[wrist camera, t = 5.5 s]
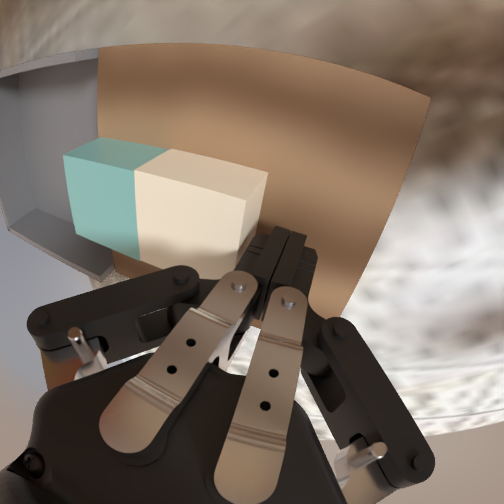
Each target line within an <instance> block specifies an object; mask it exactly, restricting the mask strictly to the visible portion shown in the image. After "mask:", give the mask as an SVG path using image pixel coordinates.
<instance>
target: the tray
mask: <svg viewBox="0 0 504 504" xmlns="http://www.w3.org/2000/svg"><path fill="white" fill-rule="evenodd" d="M98 57H99V48H96V49H87V50H80V51H73V52H68V53H63V54H58V55H54V56H49V57H45V58H41V59H37V60H33V61H30V62H26V63H22V64H19V65H16V66H13V67H9V68H6V69H3V70H0V206H1V209H2V212H3V215H4V218H5V222H6V225H7V228H8V231H10V232H11V233H13V234H15V235H16V236H18V237H19V238H21V239H23V240H24V241H26V242H28V243H29V244H31V245H33V246H35V247H36V248H38V249H40V250H42V251H43V252H45V253H47V254H49V255H50V256H52V257H54V258H56V259H58V260H60V261H61V262H63V263H65V264H67V265H69V266H70V267H72V268H74V269H76V270H78V271H80V272H82V273H84V274H86V275H88V276H90V277H92V278H94V279H96V280H98V281H100V282H102V281H103V280H104V279H105V278H106V277H107V276H108V275H109V274H110V273H111V272H112V271H113V270H114V269H115V265H114V260H113V255H112V250H111V249H110V248H108V247H106V246H103V245H101V244H99V243H96V242H94V241H92V240H90V239H87V238H85V237H83V236H81V235H78V234H76V231H75V226H74V222H73V217H72V212H71V206H70V201H69V195H68V189H67V182H66V176H65V168H64V160H63V155H64V154H66V153H68V152H70V151H72V150H74V149H76V148H78V147H80V146H82V145H84V144H86V143H89V142H91V141H93V140H95V139H97V138H98V117H97V81H98Z"/></svg>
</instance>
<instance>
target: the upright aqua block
mask: <svg viewBox="0 0 504 504" xmlns="http://www.w3.org/2000/svg"><path fill="white" fill-rule="evenodd" d="M168 150H169V149H164V148H159V147H154V146H149V145H144V144H139V143H133V142H128V141H122V140H116V139H110V138H104V137H100V138H97V139H95V140H93V141H91V142H89V143H86V144H84V145H82V146H80V147H78V148H76V149H74V150H72V151H70V152H68V153H66V154H64V155H63V160H64V168H65V176H66V182H67V189H68V195H69V201H70V206H71V212H72V217H73V222H74V226H75V231H76V234H78V235H81V236H83V237H85V238H87V239H90V240H92V241H94V242H96V243H99V244H101V245H103V246H106V247H108V248H110V249H113V250H115V251H117V252H120V253H122V254H124V255H127V256H129V257H132V258H134V259H136V260H139V261H141V260H140V251H139V241H138V229H137V217H136V201H135V179H134V170H135V169H137V168H138V167H140V166H142V165H143V164H145V163H147V162H148V161H150V160H152V159H154V158H155V157H157V156H159V155H161V154H162V153H164V152H166V151H168Z"/></svg>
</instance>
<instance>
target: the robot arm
mask: <svg viewBox="0 0 504 504" xmlns="http://www.w3.org/2000/svg"><path fill="white" fill-rule="evenodd" d="M290 233H291V234H290ZM306 238H307V235H305V234H302V233H298V232H295V231H292V232H291V230H289V229H285V228H282V227H279V226H275V227H274V229H273V231H272V233H271V235H267V234H264V233H260V234H258V235H256V236H255V237H253V238H252V240H251V242H250V243H249V246H248V247H247V248H246V251H245V252H244V253H243V255H242V257H241V258H240V260H239V262H238V263H237V265H236V267H235V269H234V270H233V271H230V272H228V273H226V274H225V275H223V277H222V278H221V279H215V280H213V279H201V278H199V274H198V272H197V271H196V270H195V269H193V268H192V267H189V266H185V265H177V266H173V267H169V268H166V269H163V270H159V271H156V272H153V273H149V274H146V275H143V276H139V277H136V278H133V279H129V280H126V281H123V282H119V283H116V284H113V285H109V286H106V287H103V288H99V289H96V290H93V291H90V292H86V293H83V294H80V295H77V296H74V297H70V298H67V299H64V300H60V301H57V302H54V303H50V304H47V305H44V306H41V307H38V308H36V309H35V310H34V311H33V312H32V313H31V314H30V315H29V317H28V320H27V329H28V331H29V333H30V334H31V336H32V337H33V339H34V340H35V342H36V345H37V346H38V348H39V349H40V351H41V357H42V363H43V369H44V374H45V379H46V383H47V388H48V391H47V392H46V393H45V394H44V395H43V396H42V397H41V398H40V400H39V401H38V403H37V405H36V407H35V410H34V415H33V426H32V432H31V436H30V440H29V443H28V446H27V448H26V449H25V451H24V452H23V453H22V454H21V455H20V456H19V457H18V458H17V459H16V460H15V461H13V462H12V463H11V464H10V465H8V466H7V467H5V468H4V469H3V470H1V472H0V504H376V503H377V502H379V501H380V500H382V499H384V498H385V497H387V496H388V495H390V494H391V493H393V492H394V491H396V490H399V489H402V488H405V487H409V486H412V485H415V484H418V483H421V482H423V481H425V480H427V478H429V477H430V476H431V474H432V472H433V470H434V467H435V457H434V454H433V452H432V450H431V449H430V447H429V445H428V443H427V442H426V440H425V438H424V436H423V435H422V433H421V431H420V430H419V428H418V426H417V424H416V423H415V421H414V419H413V418H412V416H411V414H410V413H409V411H408V409H407V408H406V406H405V405H404V403H403V401H402V400H401V398H400V396H399V395H398V393H397V391H396V390H395V388H394V387H393V385H392V383H391V382H390V380H389V379H388V377H387V375H386V374H385V372H384V371H383V369H382V368H381V366H380V364H379V363H378V361H377V360H376V358H375V357H374V355H373V354H372V352H371V350H370V349H369V347H368V346H367V344H366V343H365V341H364V340H363V338H362V337H361V335H360V334H359V332H358V331H357V329H356V328H355V326H354V325H353V324H352V323H351V322H350V321H348V320H346V319H344V318H341V317H331V318H328V319H324V318H323V317H321V316H319V315H318V314H317V313H316V312H314V311H313V309H312V308H311V306H310V304H309V301H308V296H309V292H310V288H311V284H312V280H313V276H314V272H315V268H316V264H317V260H318V256H317V253H316V250H315V249H312V248H309V247H306V246H304V245H305V241H306ZM163 308H164V309H163ZM160 309H161V310H160ZM157 310H158V311H157ZM154 311H155V312H154ZM151 312H152V313H151ZM148 313H149V314H148ZM262 313H263V314H262ZM145 314H146V315H145ZM142 315H143V316H142ZM261 315H262V318H261V321H263V324H262V327H261V331H260V334H259V336H258V340H257V343H256V346H255V350H254V353H253V356H252V359H251V363H250V366H249V369H248V372H247V375H246V376H243V375H235V374H229V373H227V372H226V371H227V369H228V367H229V365H230V363H231V361H232V359H233V358H234V356H235V354H236V352H237V351H238V349H239V347H240V345H241V343H242V342H243V340H244V338H245V336H246V335H247V332H248V329H249V328H250V326H251V324H252V321H253V319H257V320H260V317H261ZM158 346H159V348H158V349H157V350H156V352H154V353H148V354H145V355H142V356H139V357H137V358H134V359H131V360H129V361H126V362H124V363H121V364H118V365H116V366H113V367H110V368H108V369H105V368H106V365H107V364H109V363H112V362H115V361H118V360H121V359H124V358H127V357H130V356H133V355H135V354H138V353H141V352H144V351H147V350H150V349H152V348H155V347H158ZM300 367H301V374H302V376H303V378H304V380H305V382H306V384H307V386H308V388H309V390H310V392H311V394H312V396H313V398H314V400H315V402H316V404H317V406H318V408H319V410H320V412H321V414H322V415H323V417H324V419H325V421H326V423H327V425H328V427H329V429H330V431H331V433H332V435H333V437H334V439H335V441H336V443H337V445H338V446H339V448H340V451H339V452H338V454H337V455H336V457H335V461H334V467H335V471H336V474H337V479H336V477H335V475H334V473H333V471H332V468H331V466H330V464H329V462H328V460H327V458H326V455H325V453H324V451H323V449H322V446H321V444H320V442H319V439H318V437H317V435H316V433H315V430H314V428H313V426H312V424H311V421H310V419H309V417H308V415H307V414H306V412H305V411H304V409H303V408H302V407H301V406H300V405H299V404H298V403H297V402H296V401H295V400H294V397H295V392H296V387H297V382H298V377H299V371H300Z"/></svg>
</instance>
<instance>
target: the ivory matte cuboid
mask: <svg viewBox="0 0 504 504" xmlns="http://www.w3.org/2000/svg"><path fill="white" fill-rule="evenodd" d="M267 176H268V172H265V171H261V170H257V169H254V168H250V167H246V166H243V165H239V164H235V163H231V162H227V161H223V160H219V159H215V158H211V157H207V156H202V155H198V154H194V153H189V152H185V151H180V150H176V149H170V150H168V151H166V152H164V153H162V154H161V155H159V156H157V157H155V158H154V159H152V160H150V161H148V162H147V163H145V164H143V165H142V166H140V167H138V168H137V169H135V170H134V179H135V201H136V217H137V229H138V241H139V251H140V260H141V261H143V262H146V263H148V264H151V265H153V266H156V267H158V268H161V269H166V268H169V267H173V266H177V265H185V266H189V267H192V268H193V269H195V270H196V271H197V272H198V274H199V278H201V279H213V280H215V279H221V278H222V277H223V275H225V274H226V273H228V272H230V271H233V270H234V269H235V267H236V265H237V263H238V262H239V260H240V258H241V257H242V255H243V253H244V252H245V251H246V248H247V247H248V246H249V243H250V242H251V240H252V238H253V237H255V234H256V229H257V224H258V219H259V215H260V210H261V205H262V200H263V195H264V190H265V185H266V181H267Z"/></svg>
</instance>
